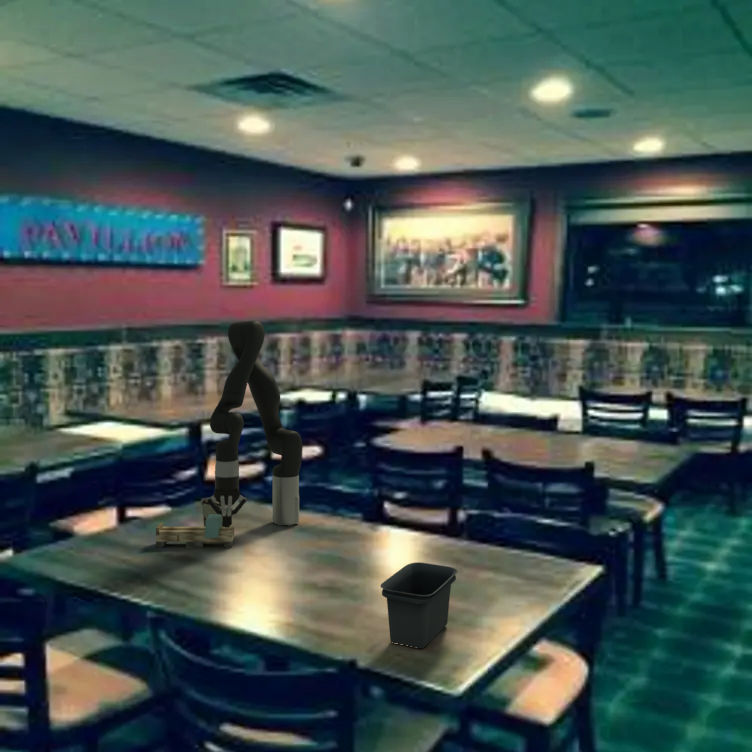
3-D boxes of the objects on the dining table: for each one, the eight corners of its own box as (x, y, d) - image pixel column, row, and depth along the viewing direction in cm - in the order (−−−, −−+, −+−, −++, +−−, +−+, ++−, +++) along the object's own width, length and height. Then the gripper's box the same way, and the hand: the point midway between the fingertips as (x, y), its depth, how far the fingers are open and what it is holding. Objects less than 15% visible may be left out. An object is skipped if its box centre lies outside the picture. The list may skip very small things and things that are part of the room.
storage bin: (428, 657, 191) (430, 595, 190) (366, 644, 198) (367, 585, 197) (460, 624, 211) (461, 568, 209) (402, 613, 217) (403, 559, 216)
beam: (234, 542, 277) (234, 522, 277) (231, 548, 271) (231, 528, 270) (160, 541, 276) (160, 522, 276) (155, 547, 270) (155, 528, 269)
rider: (222, 530, 278) (222, 513, 277) (218, 537, 269) (217, 521, 269) (209, 529, 278) (209, 513, 277) (205, 537, 269) (205, 521, 268)
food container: (239, 528, 293) (239, 500, 292) (227, 532, 288) (227, 504, 287) (213, 523, 299) (213, 495, 298) (201, 527, 294) (200, 498, 293)
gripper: (249, 471, 276) (249, 523, 277) (208, 471, 275) (208, 523, 277) (246, 476, 268) (246, 530, 270) (204, 476, 267) (204, 530, 269)
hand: (227, 526), depth 273 cm, fingers closed
